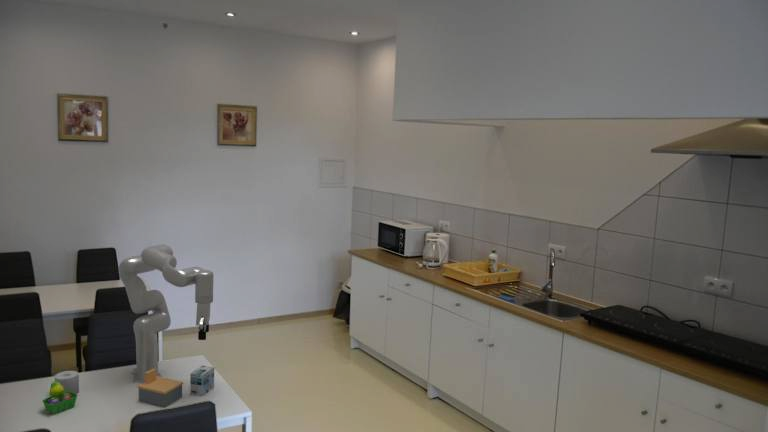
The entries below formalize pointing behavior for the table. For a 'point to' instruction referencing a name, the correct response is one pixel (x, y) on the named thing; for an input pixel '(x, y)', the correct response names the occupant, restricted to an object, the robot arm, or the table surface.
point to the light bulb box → (202, 380)
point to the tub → (160, 397)
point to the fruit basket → (59, 399)
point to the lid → (158, 383)
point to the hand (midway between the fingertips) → (203, 335)
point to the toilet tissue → (68, 381)
